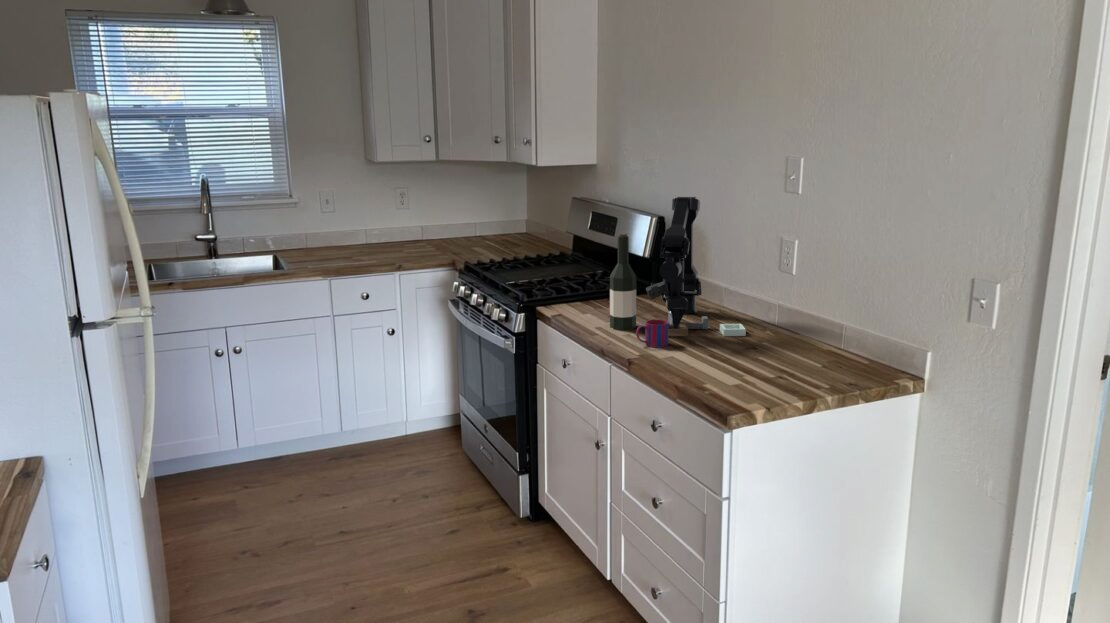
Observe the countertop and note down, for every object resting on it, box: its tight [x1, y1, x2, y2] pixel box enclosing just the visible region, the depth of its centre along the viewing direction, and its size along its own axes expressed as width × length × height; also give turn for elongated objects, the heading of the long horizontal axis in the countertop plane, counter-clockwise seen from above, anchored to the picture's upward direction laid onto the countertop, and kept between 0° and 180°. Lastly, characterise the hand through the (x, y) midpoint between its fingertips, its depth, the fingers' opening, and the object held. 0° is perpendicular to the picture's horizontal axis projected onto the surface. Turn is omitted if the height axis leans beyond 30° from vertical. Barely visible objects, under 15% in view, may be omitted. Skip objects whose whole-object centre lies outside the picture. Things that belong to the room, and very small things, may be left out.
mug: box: [635, 318, 669, 348], centre depth 240 cm, size 7×10×7 cm
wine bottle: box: [609, 232, 637, 331], centre depth 258 cm, size 8×8×30 cm
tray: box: [719, 323, 747, 337], centre depth 251 cm, size 7×7×2 cm
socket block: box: [668, 320, 689, 337], centre depth 254 cm, size 11×8×2 cm
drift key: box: [680, 315, 709, 330], centre depth 257 cm, size 3×12×3 cm, turn 89°
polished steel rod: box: [667, 310, 679, 329], centre depth 252 cm, size 3×3×7 cm
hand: (673, 324), depth 252 cm, fingers open, 9 cm apart
